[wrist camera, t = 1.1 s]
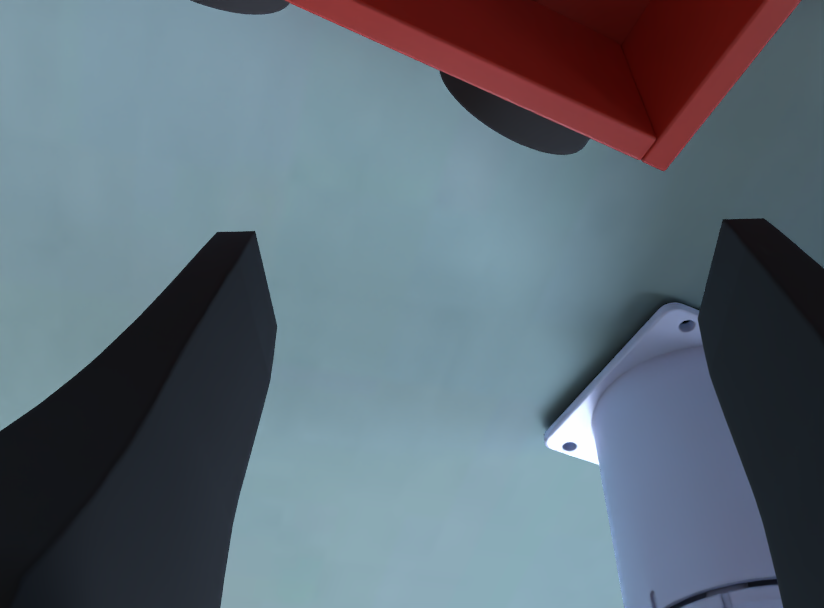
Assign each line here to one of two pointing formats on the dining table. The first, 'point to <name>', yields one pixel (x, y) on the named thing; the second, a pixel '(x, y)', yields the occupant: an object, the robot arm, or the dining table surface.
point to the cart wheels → (464, 98)
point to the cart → (583, 57)
